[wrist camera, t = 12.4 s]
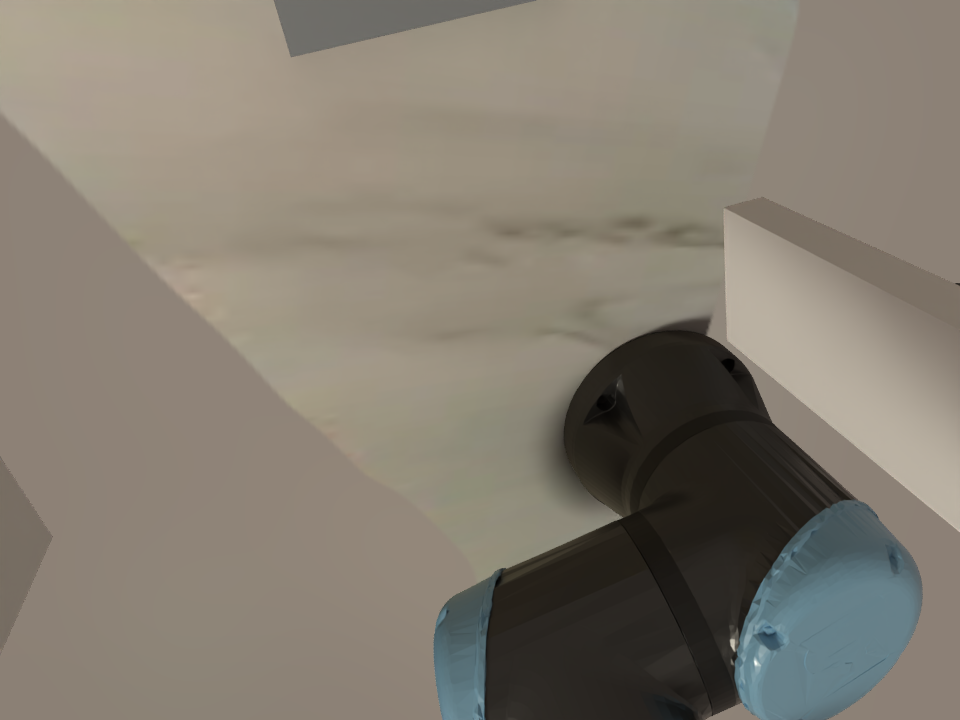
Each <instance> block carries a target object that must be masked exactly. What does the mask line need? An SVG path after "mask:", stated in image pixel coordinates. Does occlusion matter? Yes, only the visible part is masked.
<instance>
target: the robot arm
mask: <svg viewBox="0 0 960 720" xmlns="http://www.w3.org/2000/svg"><path fill="white" fill-rule="evenodd" d="M723 209H724V248H725V287H726V323H727V324H726V326H727V341H728V342H729V343H731V344H732V345H733V346H734V347H735V348H737V349H738V350H739V351H740V352H741V353H743V354H744V355H745V356H746V357H748V358H749V359H750V360H751V361H752V362H754V363H755V364H756V365H757V366H759V367H760V368H761V369H762V370H763V371H765V372H766V373H767V374H768V375H769V376H771V377H772V378H773V379H774V380H776V381H777V382H778V383H779V384H780V385H782V386H783V387H784V388H785V389H787V390H788V391H789V392H790V393H791V394H793V395H794V396H795V397H796V398H797V399H799V400H800V401H801V402H802V403H804V404H805V405H806V406H807V407H808V408H810V409H811V410H812V411H813V412H814V413H816V414H817V415H818V416H819V417H820V418H822V419H823V420H824V421H826V422H827V423H828V424H829V425H830V426H831V427H833V428H834V429H835V430H836V431H838V432H839V433H840V434H841V435H842V436H844V437H845V438H846V439H847V440H848V441H850V442H851V443H852V444H853V445H855V446H856V447H857V448H858V449H859V450H861V451H862V452H863V453H864V454H865V455H867V456H868V457H869V458H870V459H872V460H873V461H874V462H875V463H876V464H878V465H879V466H880V467H881V468H882V469H884V470H885V471H886V472H887V473H889V474H890V475H891V476H892V477H893V478H895V479H896V480H897V481H898V482H900V483H901V484H902V485H903V486H904V487H906V488H907V489H908V490H909V491H910V492H912V493H913V494H914V495H915V496H916V497H918V498H919V499H920V500H921V501H923V502H924V503H925V504H926V505H928V506H929V507H930V508H931V509H932V510H933V511H935V512H936V513H937V514H938V515H940V516H941V517H942V518H943V519H944V520H946V521H947V522H948V523H949V524H951V525H952V526H953V527H954V528H955V529H957V530H958V531H959V532H960V283H956V284H954V283H952V282H950V281H948V280H945V279H943V278H941V277H939V276H937V275H934V274H932V273H930V272H928V271H925V270H923V269H921V268H919V267H917V266H914V265H912V264H910V263H908V262H906V261H903V260H901V259H899V258H897V257H894V256H892V255H890V254H888V253H886V252H883V251H881V250H879V249H877V248H875V247H872V246H870V245H868V244H866V243H863V242H861V241H859V240H857V239H855V238H852V237H850V236H848V235H846V234H843V233H841V232H839V231H837V230H835V229H832V228H830V227H828V226H826V225H824V224H821V223H819V222H817V221H814V220H812V219H810V218H808V217H806V216H804V215H801V214H799V213H797V212H795V211H792V210H790V209H788V208H786V207H784V206H781V205H779V204H777V203H775V202H773V201H770V200H768V199H766V198H764V197H761V198H757V199H753V200H750V201H746V202H742V203H739V204H735V205H731V206H727V207H724V208H723ZM564 444H565V450H566V453H567V457H568V459H569V462H570V464H571V465H572V467H573V469H574V471H575V473H576V474H577V476H578V478H579V479H580V481H581V483H582V484H583V486H584V487H585V488H586V489H587V490H588V491H589V492H590V493H591V494H592V495H593V496H594V497H595V498H596V499H597V500H599V501H600V502H602V503H603V504H605V505H606V506H608V507H609V508H610V509H612V510H613V511H615V512H616V513H617V514H619V515H620V516H622V517H623V518H622V519H620V520H617V521H614V522H612V523H609V524H607V525H605V526H603V527H600V528H598V529H596V530H594V531H592V532H589V533H587V534H585V535H583V536H581V537H578V538H576V539H574V540H572V541H569V542H567V543H565V544H563V545H561V546H558V547H556V548H554V549H552V550H550V551H547V552H545V553H543V554H540V555H538V556H536V557H533V558H531V559H529V560H526V561H524V562H522V563H519V564H517V565H515V566H512V567H510V568H508V569H506V568H501V569H499V570H497V571H495V572H494V574H493V575H492V576H491V577H489V578H487V579H485V580H483V581H482V582H480V583H478V584H476V585H474V586H472V587H470V588H468V589H467V590H464V591H462V592H460V593H458V594H456V595H455V596H453V597H452V598H451V599H449V601H447V603H446V604H445V605H444V607H443V608H442V610H441V611H440V613H439V616H438V619H437V622H436V628H435V634H434V667H435V677H436V686H437V692H438V698H439V704H440V710H441V715H442V719H443V720H705V719H707V718H708V717H710V716H713V715H715V714H717V713H720V712H722V711H724V710H726V709H728V708H731V707H733V706H735V705H737V704H740V703H743V705H744V706H745V708H746V709H747V710H749V711H750V712H751V713H752V714H753V715H756V716H757V717H758V718H759V719H761V720H826V719H829V718H831V717H833V716H835V715H837V714H838V713H840V712H842V711H843V710H845V709H847V708H848V707H850V706H851V705H852V704H854V703H855V702H856V701H858V700H859V699H861V698H862V697H863V696H865V695H866V694H867V693H868V692H869V691H871V690H872V688H873V687H874V686H875V685H876V684H877V683H879V682H880V681H881V680H882V679H883V678H884V676H885V675H886V674H887V673H888V672H889V671H890V670H891V668H892V667H893V666H894V665H895V663H896V662H897V660H898V659H899V657H900V655H901V653H902V652H903V651H904V649H905V648H906V646H907V645H908V643H909V641H910V639H911V637H912V635H913V633H914V631H915V628H916V625H917V623H918V619H919V616H920V612H921V606H922V595H923V594H922V581H921V577H920V573H919V570H918V567H917V565H916V563H915V561H914V559H913V557H912V556H911V555H910V553H909V552H908V551H907V549H906V548H905V547H904V546H903V545H902V544H901V543H900V542H899V541H898V540H897V539H896V537H895V536H894V535H892V533H891V532H890V531H889V530H888V529H887V528H886V527H885V526H884V525H883V524H882V523H881V521H880V520H879V519H878V516H877V514H876V513H875V512H874V511H873V510H872V509H871V508H870V507H869V506H868V505H867V504H865V503H864V502H860V501H858V500H857V499H856V498H855V497H854V496H853V495H852V494H851V493H850V492H849V491H847V490H846V489H845V488H844V487H843V486H842V485H841V484H840V483H839V482H837V481H836V480H835V479H834V478H833V477H832V476H831V475H830V474H829V473H827V472H826V471H825V470H824V469H823V468H822V467H821V466H820V465H818V464H817V463H816V462H815V461H814V460H813V459H812V458H811V457H810V456H808V455H807V454H806V453H805V452H804V451H803V450H802V449H801V448H800V447H799V446H797V445H796V444H795V443H794V442H793V441H792V440H791V439H790V438H789V437H787V436H786V435H785V434H784V433H783V432H782V431H780V430H779V429H778V428H777V427H776V426H775V425H774V424H773V423H772V421H771V419H770V417H769V414H768V412H767V410H766V407H765V405H764V402H763V400H762V398H761V396H760V393H759V391H758V389H757V386H756V384H755V382H754V379H753V377H752V375H751V374H750V372H749V371H748V369H747V368H746V367H745V365H744V364H743V363H742V362H741V361H740V360H739V359H738V358H737V357H736V356H735V355H733V354H732V353H731V352H730V351H728V349H726V348H725V347H724V346H723V345H721V344H720V343H719V342H717V341H715V340H714V339H712V338H710V337H707V336H705V335H702V334H699V333H694V332H688V331H666V332H659V333H654V334H650V335H647V336H644V337H641V338H638V339H636V340H633V341H631V342H629V343H627V344H625V345H623V346H622V347H620V348H618V349H617V350H615V351H614V352H612V353H611V354H610V355H608V356H607V357H606V358H604V359H603V360H602V361H601V362H600V363H599V364H598V365H597V366H595V368H594V369H593V370H592V371H591V372H590V373H589V374H588V375H587V376H586V378H585V379H584V380H583V382H582V383H581V385H580V386H579V388H578V389H577V391H576V393H575V395H574V397H573V399H572V401H571V403H570V406H569V409H568V412H567V415H566V420H565V426H564ZM51 540H52V535H51V534H50V532H49V530H48V529H47V527H46V526H45V524H44V523H43V521H42V520H41V519H40V517H39V515H38V514H37V512H36V511H35V509H34V507H33V506H32V504H31V503H30V501H29V500H28V498H27V497H26V495H25V494H24V492H23V491H22V489H21V488H20V486H19V485H18V483H17V481H16V480H15V478H14V477H13V475H12V474H11V472H10V471H9V469H8V468H7V466H6V465H5V463H4V462H3V460H2V459H1V457H0V654H1V652H2V650H3V647H4V645H5V643H6V641H7V638H8V636H9V634H10V632H11V629H12V627H13V625H14V623H15V620H16V618H17V616H18V614H19V611H20V609H21V607H22V604H23V602H24V600H25V598H26V596H27V594H28V591H29V589H30V587H31V584H32V582H33V580H34V578H35V576H36V573H37V571H38V568H39V566H40V564H41V562H42V560H43V557H44V555H45V553H46V551H47V548H48V546H49V544H50V542H51Z"/></svg>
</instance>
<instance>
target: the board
mask: <svg viewBox="0 0 960 720" xmlns="http://www.w3.org/2000/svg"><path fill="white" fill-rule="evenodd" d="M531 1H535V0H274V2H275V6H276V9H277V12H278V16H279V19H280V22H281V26H282V29H283V32H284V36H285V39H286V42H287V46H288V49H289V52H290V56H291V57H294V56H299V55H303V54H307V53H311V52H316V51H320V50H324V49H329V48H333V47H337V46H342V45H346V44H350V43H355V42H359V41H363V40H367V39H372V38H376V37H380V36H385V35H389V34H393V33H398V32H402V31H406V30H411V29H415V28H419V27H423V26H428V25H432V24H436V23H441V22H445V21H449V20H454V19H458V18H462V17H467V16H471V15H475V14H479V13H484V12H488V11H492V10H497V9H501V8H505V7H510V6H514V5H518V4H522V3H527V2H531Z"/></svg>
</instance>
